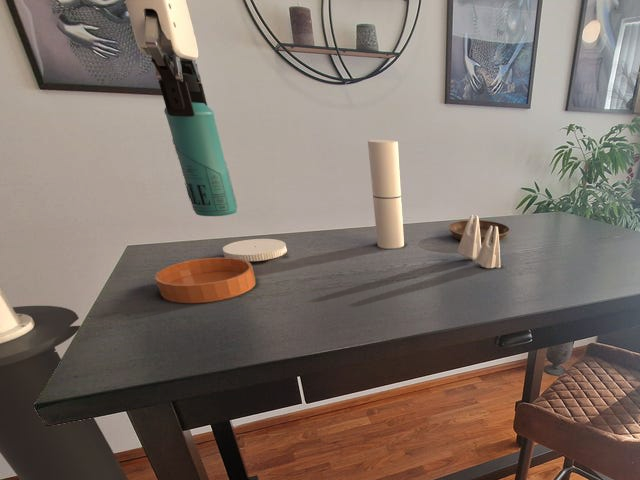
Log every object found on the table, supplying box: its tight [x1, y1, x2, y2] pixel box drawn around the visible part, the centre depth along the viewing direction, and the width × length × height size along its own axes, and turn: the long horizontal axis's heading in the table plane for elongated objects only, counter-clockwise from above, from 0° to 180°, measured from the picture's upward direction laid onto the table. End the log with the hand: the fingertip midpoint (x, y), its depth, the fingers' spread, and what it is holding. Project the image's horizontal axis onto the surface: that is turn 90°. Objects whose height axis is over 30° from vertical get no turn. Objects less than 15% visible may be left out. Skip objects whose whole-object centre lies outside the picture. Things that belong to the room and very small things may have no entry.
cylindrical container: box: [367, 139, 405, 250], centre depth 114 cm, size 7×7×25 cm
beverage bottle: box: [163, 73, 238, 217], centre depth 67 cm, size 6×7×20 cm
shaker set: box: [457, 214, 501, 269], centre depth 107 cm, size 12×4×11 cm, turn 44°
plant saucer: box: [448, 219, 511, 245], centre depth 129 cm, size 18×18×3 cm
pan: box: [154, 257, 257, 304], centre depth 90 cm, size 17×17×4 cm
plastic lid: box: [221, 238, 288, 262], centre depth 108 cm, size 14×14×2 cm
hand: (189, 113), depth 64 cm, fingers closed on beverage bottle, 6 cm apart
